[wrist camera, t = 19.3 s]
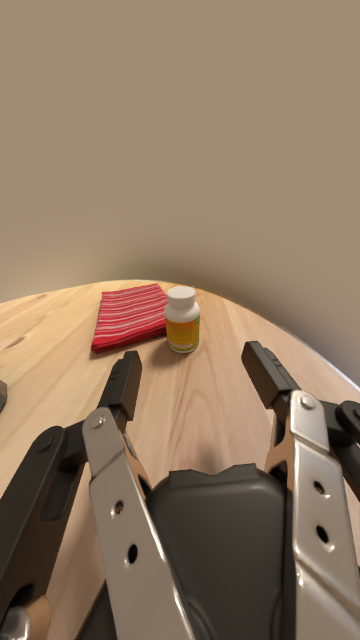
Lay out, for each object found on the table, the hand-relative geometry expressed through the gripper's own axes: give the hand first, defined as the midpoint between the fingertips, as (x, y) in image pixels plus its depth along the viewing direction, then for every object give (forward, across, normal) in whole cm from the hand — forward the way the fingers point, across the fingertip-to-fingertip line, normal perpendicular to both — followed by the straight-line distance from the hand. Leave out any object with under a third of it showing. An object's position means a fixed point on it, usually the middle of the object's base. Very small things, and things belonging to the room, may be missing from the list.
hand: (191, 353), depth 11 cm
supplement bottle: (+11, 0, +10) cm, 14 cm away
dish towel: (+22, +11, +10) cm, 27 cm away
